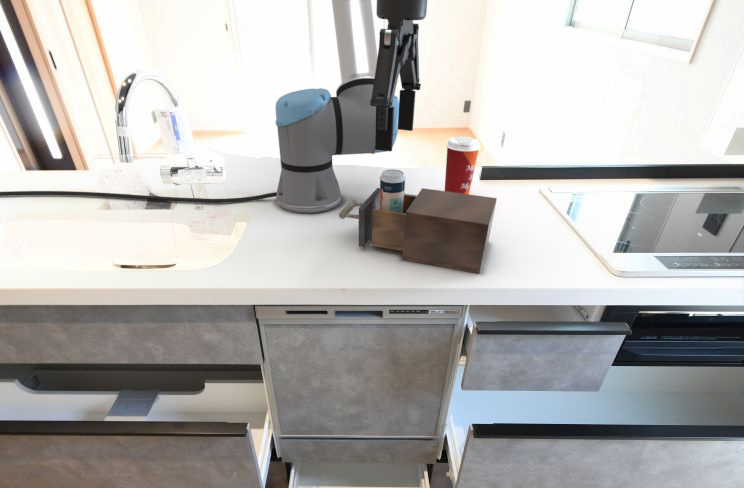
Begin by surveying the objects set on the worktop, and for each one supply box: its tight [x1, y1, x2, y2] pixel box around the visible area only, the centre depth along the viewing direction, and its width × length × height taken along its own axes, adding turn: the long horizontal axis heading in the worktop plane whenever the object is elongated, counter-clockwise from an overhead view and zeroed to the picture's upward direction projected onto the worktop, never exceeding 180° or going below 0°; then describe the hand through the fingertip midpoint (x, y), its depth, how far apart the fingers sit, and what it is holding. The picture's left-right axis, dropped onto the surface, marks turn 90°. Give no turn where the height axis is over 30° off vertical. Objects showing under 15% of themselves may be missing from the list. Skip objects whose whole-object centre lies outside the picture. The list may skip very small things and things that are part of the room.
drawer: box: [338, 187, 418, 252], centre depth 87 cm, size 18×11×8 cm, turn 71°
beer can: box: [379, 168, 407, 213], centre depth 85 cm, size 5×5×12 cm
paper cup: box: [444, 135, 481, 195], centre depth 104 cm, size 8×8×14 cm
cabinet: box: [402, 187, 498, 274], centre depth 85 cm, size 15×13×10 cm
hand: (395, 139), depth 78 cm, fingers open, 13 cm apart
